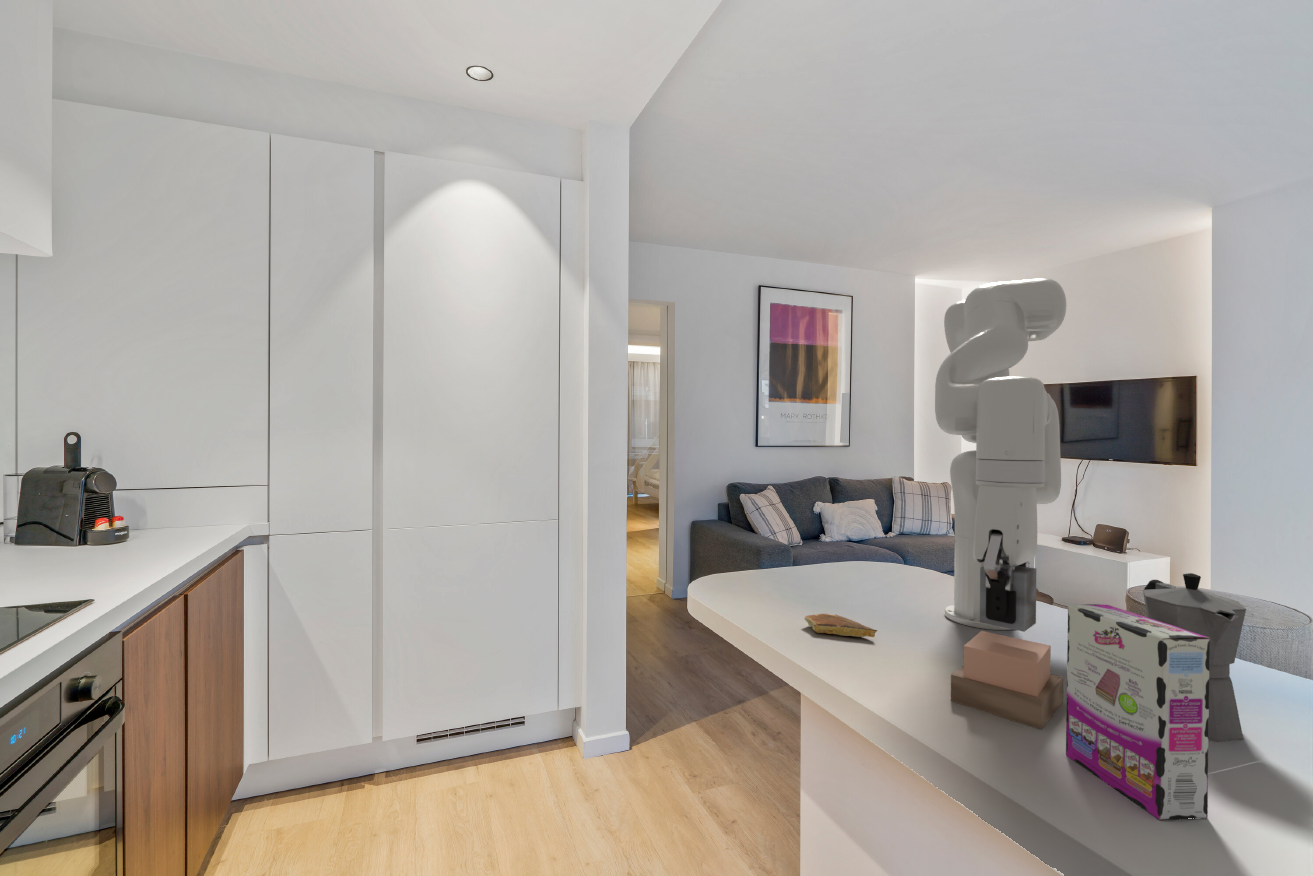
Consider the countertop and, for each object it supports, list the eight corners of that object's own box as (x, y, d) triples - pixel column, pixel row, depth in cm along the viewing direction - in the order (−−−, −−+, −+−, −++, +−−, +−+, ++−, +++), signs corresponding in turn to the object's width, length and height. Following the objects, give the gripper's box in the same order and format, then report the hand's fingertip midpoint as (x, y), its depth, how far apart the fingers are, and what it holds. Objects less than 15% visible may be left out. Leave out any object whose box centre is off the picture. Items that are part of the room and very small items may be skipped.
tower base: (978, 683, 82) (978, 655, 82) (1063, 708, 75) (1063, 677, 75) (950, 705, 75) (951, 674, 75) (1041, 735, 68) (1041, 700, 68)
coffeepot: (1282, 759, 63) (1285, 590, 63) (1179, 747, 65) (1181, 584, 65) (1187, 696, 78) (1189, 560, 78) (1105, 689, 80) (1107, 556, 80)
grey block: (992, 614, 79) (993, 562, 79) (1035, 623, 75) (1036, 568, 75) (979, 622, 75) (980, 567, 75) (1024, 631, 72) (1024, 574, 72)
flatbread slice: (877, 639, 97) (877, 628, 97) (840, 645, 94) (840, 634, 94) (834, 621, 107) (834, 611, 107) (799, 626, 104) (799, 616, 104)
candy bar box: (1212, 821, 52) (1215, 637, 52) (1160, 824, 52) (1162, 638, 52) (1106, 753, 63) (1108, 601, 63) (1062, 755, 63) (1064, 602, 63)
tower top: (980, 659, 81) (981, 630, 81) (1050, 676, 75) (1050, 645, 75) (963, 677, 75) (963, 645, 75) (1037, 696, 69) (1037, 662, 69)
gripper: (998, 471, 84) (997, 598, 84) (953, 474, 72) (951, 623, 72) (1061, 473, 78) (1059, 610, 78) (1022, 478, 67) (1021, 639, 67)
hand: (1007, 615), depth 75 cm, fingers closed on grey block, 5 cm apart
